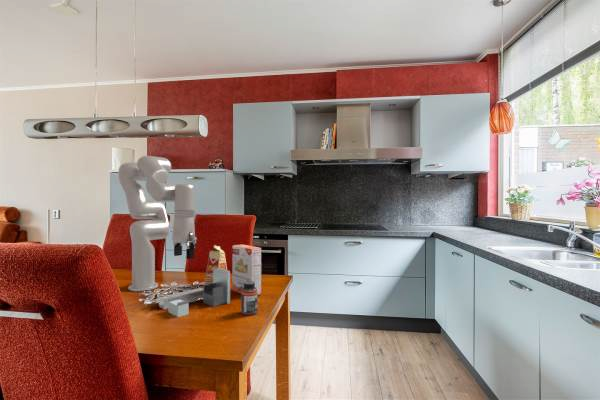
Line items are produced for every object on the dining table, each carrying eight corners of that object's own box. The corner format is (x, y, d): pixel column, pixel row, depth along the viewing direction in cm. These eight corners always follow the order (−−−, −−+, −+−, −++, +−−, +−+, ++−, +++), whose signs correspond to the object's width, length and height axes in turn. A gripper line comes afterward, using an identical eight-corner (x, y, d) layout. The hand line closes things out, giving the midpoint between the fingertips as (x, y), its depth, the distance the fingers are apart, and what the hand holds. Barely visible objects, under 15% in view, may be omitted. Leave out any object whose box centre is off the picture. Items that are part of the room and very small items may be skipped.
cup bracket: (201, 301, 127) (201, 269, 127) (215, 298, 132) (215, 267, 132) (215, 307, 121) (215, 273, 121) (229, 303, 126) (230, 270, 126)
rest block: (168, 312, 115) (168, 298, 115) (178, 309, 118) (178, 296, 118) (178, 317, 111) (178, 303, 111) (188, 314, 114) (188, 300, 114)
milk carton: (221, 288, 146) (221, 246, 146) (202, 287, 148) (203, 245, 148) (229, 283, 155) (229, 243, 155) (212, 282, 157) (212, 242, 157)
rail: (159, 307, 121) (159, 297, 121) (200, 296, 135) (200, 287, 135) (164, 310, 118) (164, 299, 118) (205, 298, 132) (205, 289, 132)
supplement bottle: (241, 310, 118) (242, 280, 118) (257, 309, 118) (258, 280, 118) (240, 316, 112) (240, 284, 112) (257, 315, 112) (257, 284, 112)
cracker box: (231, 291, 142) (231, 245, 142) (242, 288, 147) (242, 243, 147) (250, 298, 133) (251, 248, 133) (261, 294, 137) (262, 247, 137)
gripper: (165, 214, 129) (164, 255, 129) (186, 215, 118) (186, 261, 118) (182, 213, 135) (182, 253, 135) (204, 215, 123) (204, 258, 123)
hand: (184, 257), depth 126 cm, fingers open, 9 cm apart
